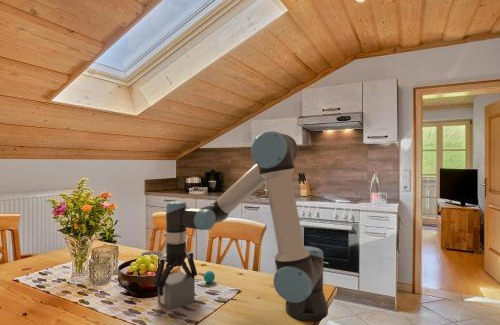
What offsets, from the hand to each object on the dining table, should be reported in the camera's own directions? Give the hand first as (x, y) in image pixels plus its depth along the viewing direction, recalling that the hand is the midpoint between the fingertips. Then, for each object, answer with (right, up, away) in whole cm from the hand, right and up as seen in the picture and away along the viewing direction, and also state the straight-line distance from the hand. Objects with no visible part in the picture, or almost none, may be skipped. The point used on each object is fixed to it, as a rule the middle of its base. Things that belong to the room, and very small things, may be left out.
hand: (176, 298), depth 120 cm
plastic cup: (-16, -1, +21) cm, 26 cm away
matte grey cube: (0, -1, 0) cm, 1 cm away
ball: (+10, +2, +18) cm, 21 cm away
